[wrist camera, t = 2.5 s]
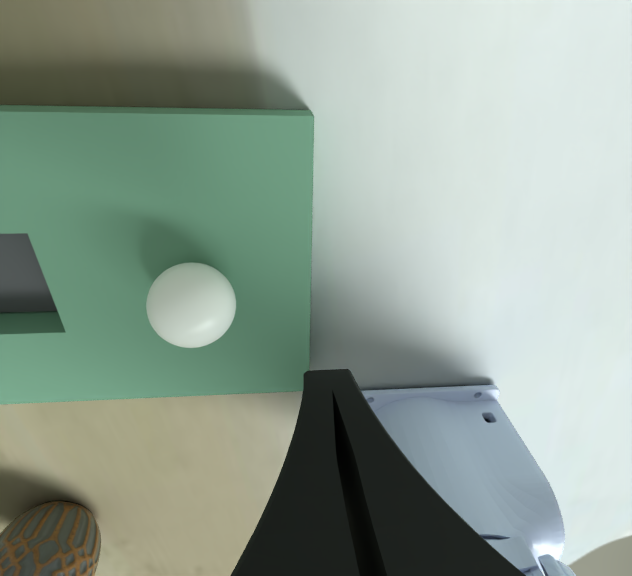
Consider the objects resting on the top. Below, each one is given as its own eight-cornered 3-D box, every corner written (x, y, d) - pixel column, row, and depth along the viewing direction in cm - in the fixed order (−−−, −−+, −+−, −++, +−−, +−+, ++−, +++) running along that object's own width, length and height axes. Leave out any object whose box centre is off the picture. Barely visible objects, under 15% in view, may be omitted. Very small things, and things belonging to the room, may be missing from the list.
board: (310, 109, 16) (314, 116, 14) (306, 366, 23) (308, 390, 21) (-171, 102, 14) (-231, 108, 13) (-14, 378, 22) (-40, 406, 20)
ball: (236, 247, 17) (226, 289, 14) (242, 314, 18) (235, 364, 15) (152, 248, 16) (123, 291, 13) (167, 316, 18) (144, 368, 15)
